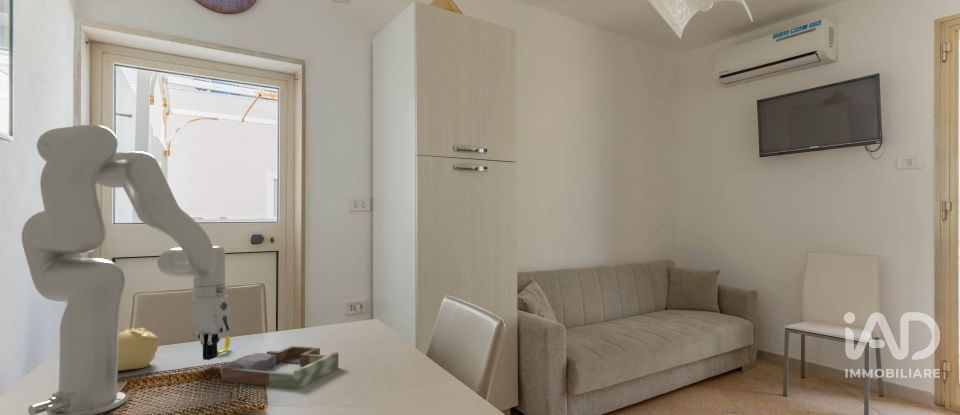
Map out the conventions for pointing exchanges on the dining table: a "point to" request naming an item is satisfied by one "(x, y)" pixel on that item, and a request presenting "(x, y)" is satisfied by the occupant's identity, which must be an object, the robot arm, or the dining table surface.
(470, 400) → the dining table surface
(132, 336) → the sculpture
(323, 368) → the channel
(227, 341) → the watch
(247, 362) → the stone block
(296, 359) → the trap pit pad
